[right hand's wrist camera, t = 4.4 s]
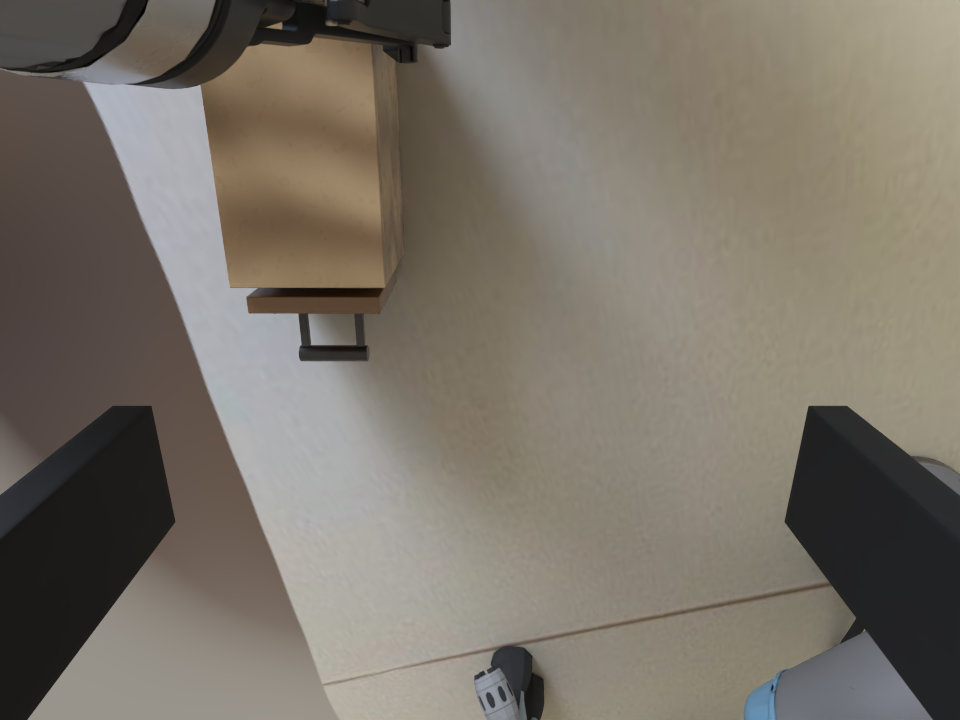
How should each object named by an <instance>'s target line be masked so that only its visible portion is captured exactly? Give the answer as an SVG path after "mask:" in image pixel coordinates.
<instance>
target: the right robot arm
mask: <svg viewBox="0 0 960 720" xmlns="http://www.w3.org/2000/svg"><path fill="white" fill-rule="evenodd" d="M174 523H175V518H174V513H173V508H172V503H171V498H170V494H169V489H168V484H167V479H166V474H165V470H164V465H163V460H162V455H161V450H160V445H159V440H158V436H157V431H156V426H155V421H154V416H153V412H152V407H151V406H112V407H111V408H110V409H109V410H107V411H106V412H105V413H103V414H102V415H101V416H100V417H98V418H97V419H96V420H95V421H93V422H92V423H91V424H90V425H88V426H87V427H86V428H85V429H83V430H82V431H81V432H79V433H78V434H77V435H76V436H74V437H73V438H72V439H71V440H69V441H68V442H67V443H66V444H64V445H63V446H62V447H61V448H59V449H58V450H57V451H55V452H54V453H53V454H52V455H50V456H49V457H48V458H47V459H45V460H44V461H43V462H42V463H40V464H39V465H38V466H37V467H35V468H34V469H33V470H32V471H30V472H29V473H28V474H27V475H25V476H24V477H23V478H21V479H20V480H19V481H18V482H16V483H15V484H14V485H13V486H11V487H10V488H9V489H7V490H6V491H5V492H4V493H2V494H1V495H0V720H27V719H28V718H29V717H30V715H31V714H32V713H33V711H34V710H35V709H36V707H37V706H38V705H39V703H40V702H41V701H42V699H43V698H44V697H45V695H46V694H47V693H48V691H49V690H50V689H51V687H52V686H53V685H54V683H55V682H56V681H57V679H58V678H59V677H60V675H61V674H62V673H63V671H64V670H65V669H66V667H67V666H68V665H69V663H70V662H71V661H72V659H73V658H74V656H75V655H76V654H77V653H78V651H79V650H80V648H81V647H82V646H83V645H84V643H85V642H86V641H87V639H88V638H89V637H90V635H91V634H92V633H93V631H94V630H95V629H96V627H97V626H98V625H99V623H100V622H101V621H102V619H103V618H104V617H105V615H106V614H107V613H108V611H109V610H110V608H111V607H112V606H113V605H114V603H115V602H116V601H117V599H118V598H119V597H120V595H121V594H122V593H123V591H124V590H125V588H126V587H127V586H128V584H129V583H130V582H131V580H132V579H133V578H134V577H135V575H136V574H137V573H138V571H139V570H140V568H141V567H142V566H143V564H144V563H145V562H146V560H147V559H148V558H149V556H150V555H151V554H152V552H153V551H154V550H155V548H156V547H157V546H158V544H159V543H160V542H161V540H162V539H163V538H164V536H165V535H166V534H167V532H168V531H169V530H170V528H171V527H172V526H173V524H174ZM785 523H786V524H787V526H788V527H789V528H790V530H791V531H792V532H793V534H794V535H795V536H796V538H797V539H798V540H799V542H800V543H801V544H802V546H803V547H804V548H805V550H806V551H807V552H808V554H809V555H810V556H811V558H812V559H813V560H814V562H815V563H816V564H817V566H818V567H819V569H820V570H821V571H822V573H823V574H824V575H825V577H826V578H827V579H828V581H829V582H830V583H831V585H832V586H833V587H834V589H835V590H836V591H837V593H838V594H839V595H840V597H841V598H842V599H843V601H844V602H845V603H846V605H847V606H848V607H849V609H850V610H851V611H852V613H853V614H854V615H855V617H856V620H855V621H854V623H853V625H852V626H851V628H850V629H849V631H848V632H847V634H846V635H845V637H844V638H843V640H842V641H841V643H840V644H839V645H837V646H835V647H833V648H831V649H829V650H827V651H825V652H823V653H821V654H819V655H817V656H815V657H813V658H811V659H809V660H807V661H805V662H803V663H801V664H799V665H797V666H795V667H793V668H791V669H785V670H782V671H780V673H778V674H777V675H776V676H775V677H774V679H772V680H770V681H769V682H767V683H765V684H763V685H762V686H760V687H758V688H756V689H755V690H753V691H752V693H751V694H750V695H749V696H748V698H747V700H746V703H745V708H744V720H960V474H959V473H957V472H956V471H954V470H953V469H952V468H950V467H949V466H947V465H945V464H943V463H941V462H938V461H936V460H932V459H929V458H923V457H914V456H910V455H908V454H907V453H906V452H905V451H903V450H902V449H901V448H899V447H898V446H897V445H896V444H894V443H893V442H892V441H891V440H889V439H888V438H887V437H886V436H884V435H883V434H882V433H881V432H879V431H878V430H877V429H875V428H874V427H873V426H872V425H870V424H869V423H868V422H867V421H865V420H864V419H863V418H862V417H860V416H859V415H858V414H857V413H855V412H854V411H853V410H851V409H850V408H849V407H848V406H809V407H808V412H807V416H806V421H805V426H804V431H803V436H802V440H801V445H800V450H799V455H798V460H797V465H796V469H795V474H794V479H793V484H792V489H791V494H790V498H789V503H788V508H787V513H786V518H785ZM864 629H865V630H866V631H865V632H863V633H862V631H863V630H864Z"/></svg>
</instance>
